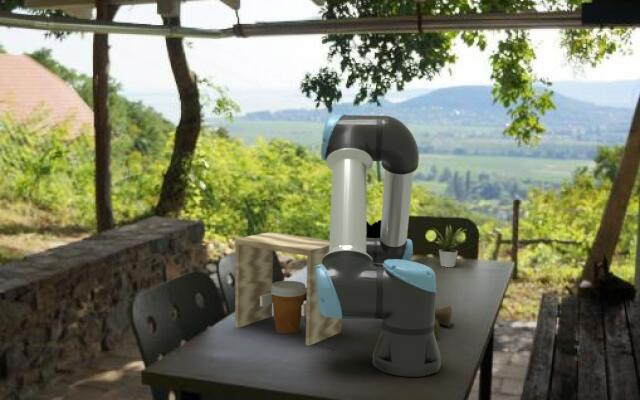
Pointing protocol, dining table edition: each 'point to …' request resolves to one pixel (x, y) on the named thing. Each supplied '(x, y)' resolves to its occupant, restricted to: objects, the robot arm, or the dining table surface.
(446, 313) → the kendama
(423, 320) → the robot arm
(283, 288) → the disposable coffee cup
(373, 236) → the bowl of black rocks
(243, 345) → the dining table surface
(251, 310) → the plywood stool
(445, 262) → the house plant
